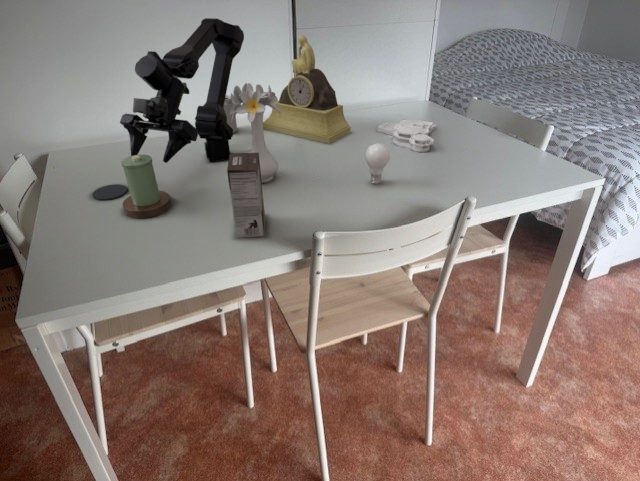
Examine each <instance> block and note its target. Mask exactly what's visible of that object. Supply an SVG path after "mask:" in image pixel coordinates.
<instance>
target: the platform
mask: <svg viewBox="0 0 640 481" xmlns="http://www.w3.org/2000/svg"><path fill="white" fill-rule="evenodd" d="M158 190H159V189H158ZM159 194H160V200H159V201H158V202H157V203H155V204H152V205H149V206H136V205H134V204H133V202H132V198H131V195H128V197H126V198H125V199H124V200H123V202H122V208H123V212H124V214H125V215H126V216H127V217H128V218H129V217H130V218H133V219H151V218H154V217H158V216H160V215H163V214H164V213H166V212H167V211H169V210H170V209H171V207H172V199H171V195H170V193H168V192H166V191H164V190H159Z"/></svg>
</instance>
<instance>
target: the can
mask: <svg viewBox="0 0 640 481" xmlns="http://www.w3.org/2000/svg"><path fill="white" fill-rule="evenodd" d="M229 99H231V95H228V94H226V97H225V102H224V110H225V113H226V116H227V124H228V125H229V126H230V127H231V128H232V129H233V134H235V133H236V132H237V130H238V125H237V124H238V123H237V117H236V116H237V114H236V115H235V117H234V119H233V121H232V122H231V120H232V115H233V114H231V115H230V109H231V107H232V106H233V105H234V104H227V101H228V100H229Z"/></svg>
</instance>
